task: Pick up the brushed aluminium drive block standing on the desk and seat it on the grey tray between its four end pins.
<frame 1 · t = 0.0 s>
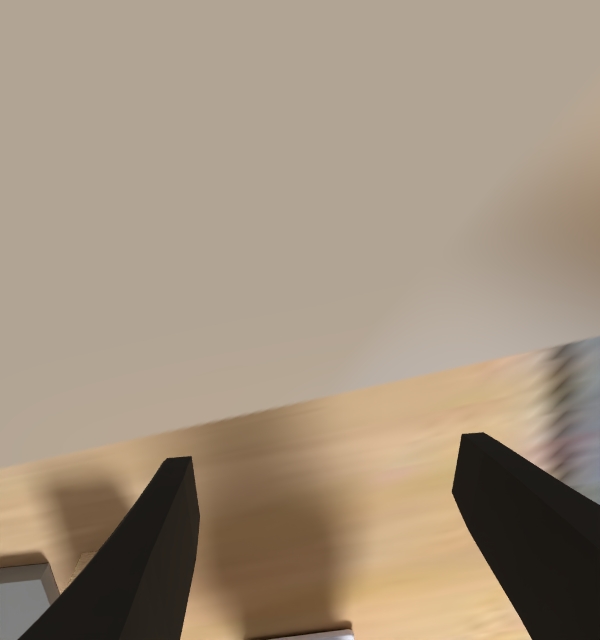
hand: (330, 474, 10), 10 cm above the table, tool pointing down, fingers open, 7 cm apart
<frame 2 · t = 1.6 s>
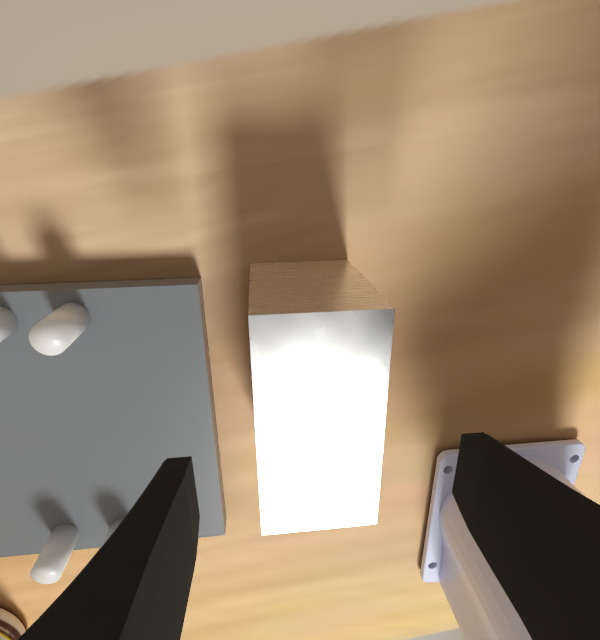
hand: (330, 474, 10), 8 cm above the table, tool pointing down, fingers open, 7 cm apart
pin tray: (79, 423, 18), on the table
drive: (300, 349, 18), on the table
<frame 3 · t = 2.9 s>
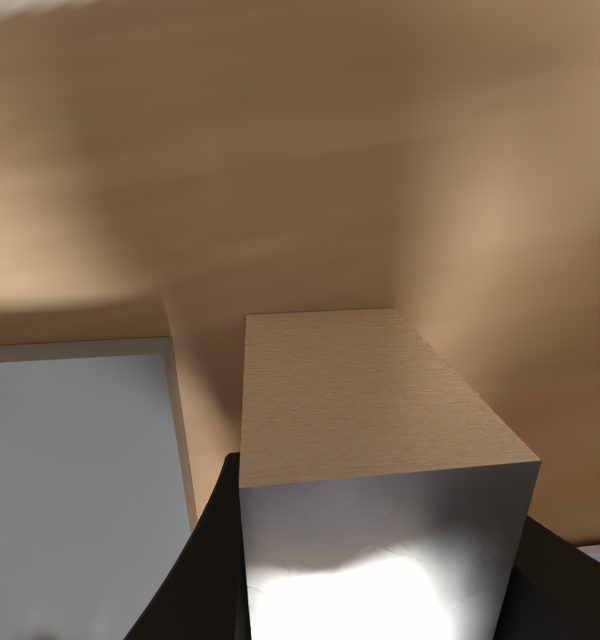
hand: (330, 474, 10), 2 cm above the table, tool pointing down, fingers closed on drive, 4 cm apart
drive: (319, 433, 12), on the table, touching gripper
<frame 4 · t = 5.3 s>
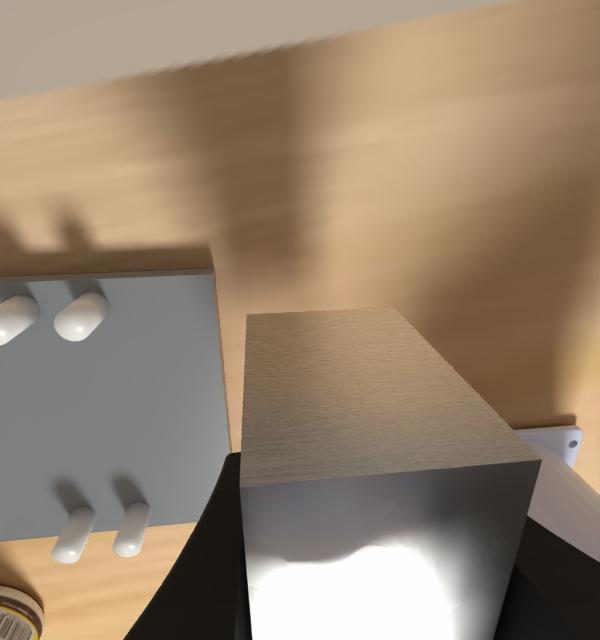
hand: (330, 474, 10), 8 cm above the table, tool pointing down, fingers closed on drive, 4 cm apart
pin tray: (96, 409, 18), on the table
drive: (320, 433, 12), point 7 cm above the table, touching gripper
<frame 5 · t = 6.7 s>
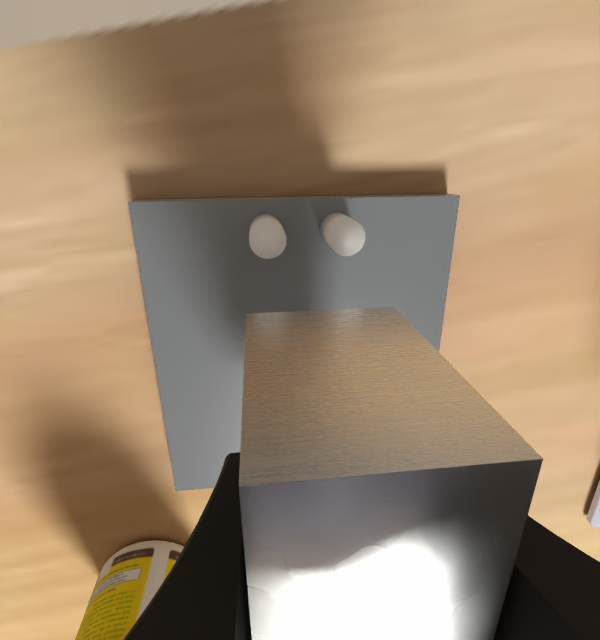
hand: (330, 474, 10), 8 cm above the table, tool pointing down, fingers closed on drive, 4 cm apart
supplement bottle: (157, 567, 22), on the table
pin tray: (299, 349, 18), on the table
drive: (320, 432, 12), point 6 cm above the table, touching gripper
when the fingers open (4 cm above the table, at t = 7.8 s): drive drops 1 cm, resting on pin tray.
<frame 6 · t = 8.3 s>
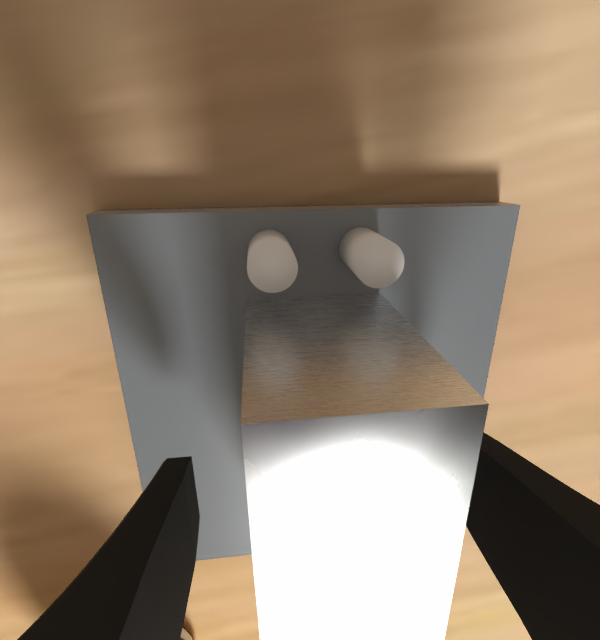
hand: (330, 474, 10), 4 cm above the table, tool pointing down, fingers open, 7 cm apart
pin tray: (310, 393, 14), on the table
drive: (314, 408, 13), point 1 cm above the table, touching pin tray
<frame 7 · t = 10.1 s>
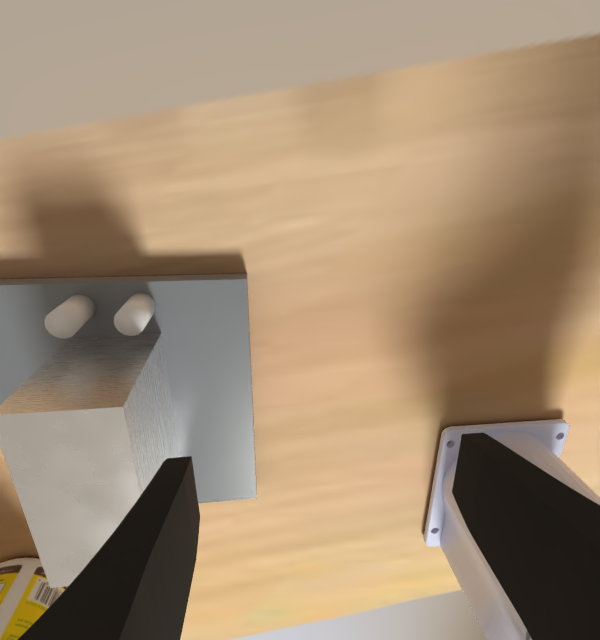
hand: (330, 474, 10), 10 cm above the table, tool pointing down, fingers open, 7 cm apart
supplement bottle: (34, 580, 25), on the table
pin tray: (135, 397, 21), on the table
drive: (130, 408, 20), point 1 cm above the table, touching pin tray
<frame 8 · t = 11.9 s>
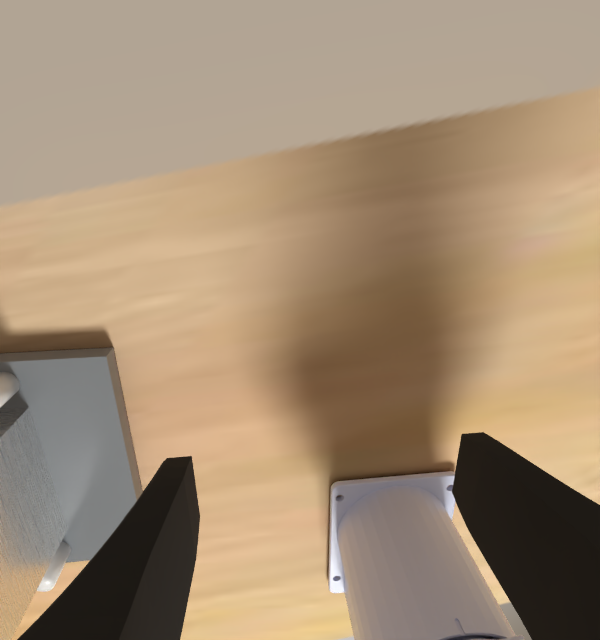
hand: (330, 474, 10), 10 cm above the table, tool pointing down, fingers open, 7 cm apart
pin tray: (19, 462, 21), on the table
drive: (8, 476, 20), point 1 cm above the table, touching pin tray
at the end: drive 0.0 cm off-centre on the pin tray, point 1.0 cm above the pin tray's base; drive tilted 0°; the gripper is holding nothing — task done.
